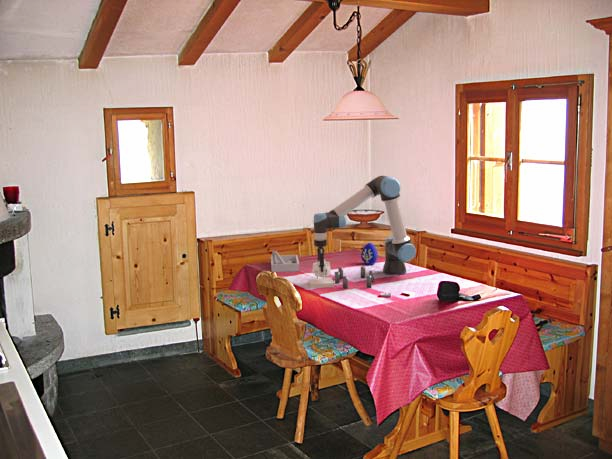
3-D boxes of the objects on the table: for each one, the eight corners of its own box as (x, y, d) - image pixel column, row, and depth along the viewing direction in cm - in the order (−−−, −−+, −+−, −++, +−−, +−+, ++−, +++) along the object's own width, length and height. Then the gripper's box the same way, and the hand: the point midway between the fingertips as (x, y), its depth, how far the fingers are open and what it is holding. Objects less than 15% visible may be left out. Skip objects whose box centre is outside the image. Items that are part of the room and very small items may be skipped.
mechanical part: (325, 275, 426) (324, 256, 425) (334, 279, 416) (333, 260, 414) (308, 277, 422) (308, 258, 420) (317, 281, 411) (316, 262, 409)
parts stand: (331, 281, 427) (331, 277, 426) (333, 287, 413) (333, 283, 412) (308, 282, 426) (308, 278, 426) (310, 287, 412) (310, 283, 412)
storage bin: (297, 261, 487) (297, 254, 486) (299, 271, 458) (299, 263, 457) (271, 262, 486) (271, 255, 485) (271, 272, 457) (271, 264, 456)
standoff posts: (370, 276, 437) (370, 266, 436) (377, 287, 409) (377, 276, 408) (332, 278, 436) (332, 267, 434) (337, 289, 408) (337, 277, 407)
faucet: (293, 264, 462) (279, 243, 472) (279, 270, 458) (265, 249, 469) (293, 276, 473) (279, 256, 484) (279, 282, 469) (266, 261, 480)
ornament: (359, 264, 473) (359, 243, 470) (365, 262, 480) (365, 241, 478) (374, 266, 467) (374, 244, 464) (380, 263, 475) (380, 242, 472)
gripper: (312, 236, 427) (313, 270, 430) (315, 243, 403) (316, 279, 406) (324, 235, 427) (325, 270, 430) (328, 242, 403) (329, 279, 407)
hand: (321, 274), depth 418 cm, fingers closed on mechanical part, 12 cm apart
